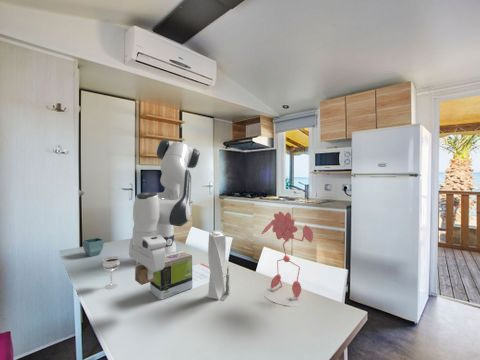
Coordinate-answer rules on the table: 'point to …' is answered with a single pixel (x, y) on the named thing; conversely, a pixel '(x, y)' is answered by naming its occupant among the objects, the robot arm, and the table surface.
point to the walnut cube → (142, 275)
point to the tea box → (173, 275)
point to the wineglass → (111, 268)
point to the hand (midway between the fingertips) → (145, 275)
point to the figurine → (285, 230)
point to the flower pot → (93, 246)
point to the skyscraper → (217, 266)
